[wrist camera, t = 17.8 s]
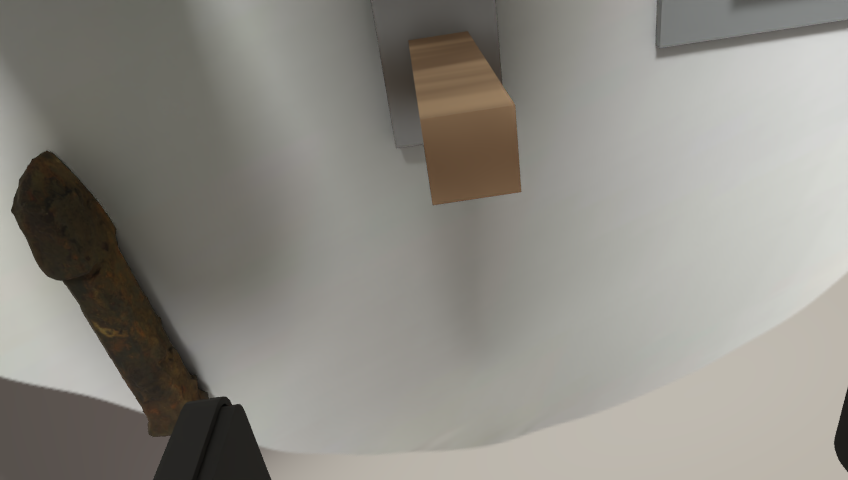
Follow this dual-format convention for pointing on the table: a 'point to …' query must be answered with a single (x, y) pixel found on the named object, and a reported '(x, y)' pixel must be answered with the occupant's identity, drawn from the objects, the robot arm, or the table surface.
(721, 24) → the mat
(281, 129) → the table surface
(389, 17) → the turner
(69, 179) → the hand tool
